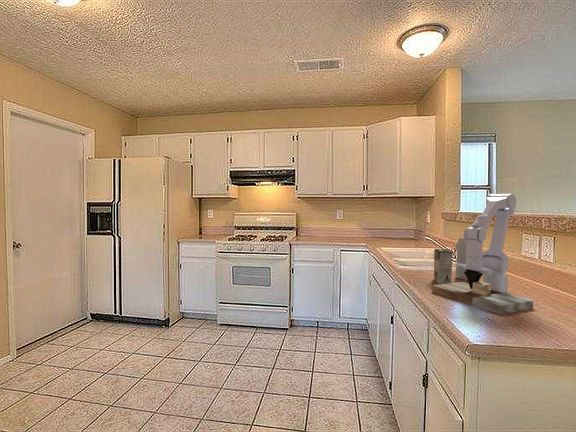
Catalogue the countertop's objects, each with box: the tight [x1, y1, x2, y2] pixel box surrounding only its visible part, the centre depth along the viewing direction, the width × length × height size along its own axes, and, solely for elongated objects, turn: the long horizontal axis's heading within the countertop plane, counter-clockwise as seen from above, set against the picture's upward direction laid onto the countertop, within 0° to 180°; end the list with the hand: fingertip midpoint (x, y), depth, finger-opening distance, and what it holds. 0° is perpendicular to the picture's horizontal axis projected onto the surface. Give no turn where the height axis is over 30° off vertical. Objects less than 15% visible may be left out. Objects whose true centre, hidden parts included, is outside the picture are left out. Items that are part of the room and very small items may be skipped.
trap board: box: [431, 281, 534, 315], centre depth 126 cm, size 18×30×3 cm, turn 23°
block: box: [473, 281, 491, 295], centre depth 125 cm, size 4×4×4 cm
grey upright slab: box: [455, 236, 477, 281], centre depth 162 cm, size 11×4×22 cm, turn 51°
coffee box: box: [433, 248, 453, 285], centre depth 155 cm, size 9×6×16 cm
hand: (473, 288), depth 129 cm, fingers closed
